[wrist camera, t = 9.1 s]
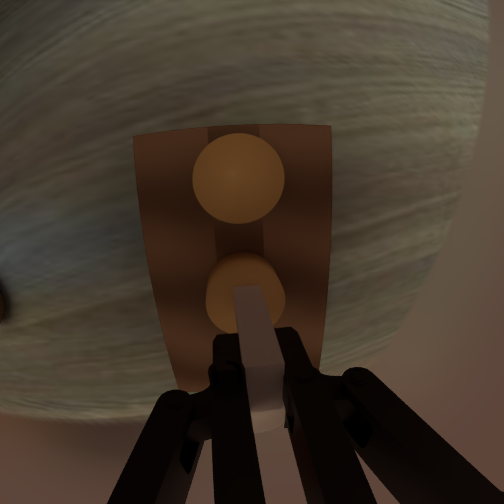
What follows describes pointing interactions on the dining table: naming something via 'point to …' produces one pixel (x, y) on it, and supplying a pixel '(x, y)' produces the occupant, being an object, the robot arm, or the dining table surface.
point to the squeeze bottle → (1, 306)
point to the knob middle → (241, 274)
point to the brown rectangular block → (233, 237)
